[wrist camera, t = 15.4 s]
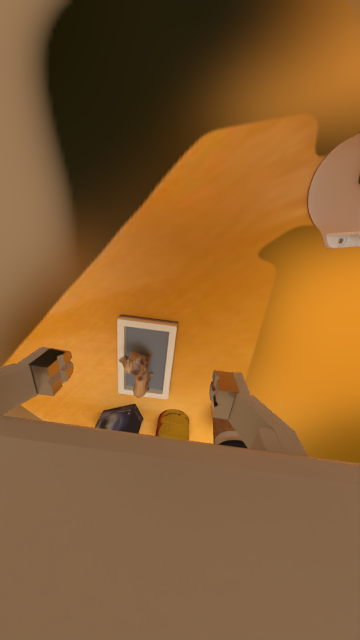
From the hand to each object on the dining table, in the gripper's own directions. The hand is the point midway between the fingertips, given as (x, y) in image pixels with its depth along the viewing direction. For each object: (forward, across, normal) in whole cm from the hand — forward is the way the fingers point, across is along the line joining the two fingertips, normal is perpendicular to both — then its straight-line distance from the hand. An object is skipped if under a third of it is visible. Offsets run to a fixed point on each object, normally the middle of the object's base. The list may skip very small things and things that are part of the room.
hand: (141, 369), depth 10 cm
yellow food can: (+30, -3, +42) cm, 51 cm away
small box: (+30, +12, +42) cm, 52 cm away
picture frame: (+30, +6, +21) cm, 36 cm away
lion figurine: (+29, +6, +22) cm, 37 cm away
